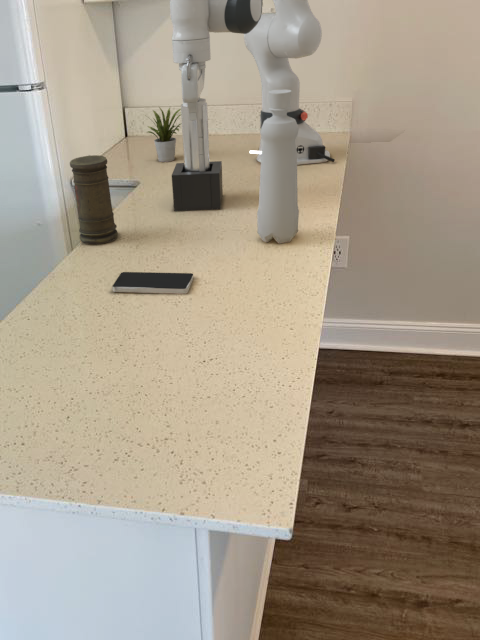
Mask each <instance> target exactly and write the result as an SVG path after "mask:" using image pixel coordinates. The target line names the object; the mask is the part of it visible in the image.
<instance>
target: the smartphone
mask: <svg viewBox="0 0 480 640" xmlns="http://www.w3.org/2000/svg"><path fill="white" fill-rule="evenodd" d="M193 281H194V273H191V272H151V271H150V272H149V271H148V272H143V271H135V272H134V271H123V272H120V274H119V275H118V277H117V278H116V279H115V282H114V283H113V284H112V286H111V287H112V291H113V292H114V293H139V294H140V293H142V294H143V293H144V294H145V293H146V294H178V295H179V294H180V295H181V294H183V295H185V294H188V292H189V290H190V287H191V285H192V284H193Z"/></svg>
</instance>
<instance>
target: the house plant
mask: <svg viewBox="0 0 480 640" xmlns="http://www.w3.org/2000/svg"><path fill="white" fill-rule="evenodd" d="M158 108H159V110H160V112H161V116H160V115H159V114H158V113H157V111H155V110H153V109H152V112H153V115H154V117H155V118H154V117H152V118H153V120H151V118H150V117H149V116H147V115H146V114H144V116H145V117H147V118H148V119H149V120H151V122H153V124H154V125H155V127H156V128H157V129H156V128H154V127H152V126H149V125H147V128H149V129H150V131H147V134H148V133H149V134H152V135H154V136H155V137H156V138H155V139H154V140H153V142H154V146H155V150H156V154H157V160H158V162H160V163H167V162H168V163H169V162H173V161H175V157H176V156H175V155H176V145H177V138H176V137H173V135H174V134H175V135H178V134H177V132H178V133H179V131H180V129H182V127H181V125H182V122H180V123H179V124H177V125H175V123H176V122H177V121H178V119H179V118H180V116H181V113H180V112H181V108H179V109H177V110H176V111H175V112H174V113H173V114H172V116H171V108H170V107H168V108H167V111H166V115H165V113H164V111H163V109H162V108H161V107H160V106H158ZM176 115H177V116H176ZM161 118H162V119H161ZM172 123H173V124H172ZM176 131H177V132H176Z"/></svg>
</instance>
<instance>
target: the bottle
mask: <svg viewBox="0 0 480 640" xmlns="http://www.w3.org/2000/svg"><path fill="white" fill-rule="evenodd" d="M291 92H292V91H291V90H273V91H269V103H270V108H269V110H271V112H272V114H273V116H272V117H270V118H268V119H266V120H265V121H264V123H263V125H262V127H261V129H259V133H260V139H261V138H262V140H263V142H264V143H263V148H262V153H261V162H260V170H259V171H260V172H259V192H258V193H259V194H258V197H259V198H258V207H257V208H258V209H257V211H256V219H257V220H256V221H257V223H256V225H257V226H256V227H257V228H256V229H257V231H256V232H257V233H256V234H257V235H258V236H259V238H260V239H261V241H262V242H264V243H269V242H272V240H273V239H274V240H275V241H276V242H277V243H278V244H286V243H290V242H291V241H292V239H294V238H295V236H296V234H297V233H298V231H299V215H300V209H299V204H298V201H299V200H298V165H297V150H296V144H295V139H296V137H297V135H298V131H299V127H298V125H297V122H296V120H295V119H294V118H291V117H289V116H287V112H288V110H289V109H291V107H290V100H291Z"/></svg>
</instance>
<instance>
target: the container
mask: <svg viewBox="0 0 480 640" xmlns="http://www.w3.org/2000/svg"><path fill="white" fill-rule="evenodd" d="M107 164H108V158H107V157H106V156H105V155H98V154H97V155H95V154H93V155H85V156H83V155H82V156H79V157H75V158H73V159H71V160H70V161H69V166H70V168H71V172H72V177H73V184H74V191H75V192H74V193H75V199H76V205H77V212H78V221H79V229H78V232H79V233H80V234H79V240H80V242H81V243H82V244H85V245H93V246H94V245H103V244H108V243H111V242H113V241H114V240H116V239H117V238H118V235H119V232H118V230H117V228H118V227H117V224H116V222H115V218H114V217H115V216H114V215H115V214H114V211H113V206H112V199H111V198H112V197H111V190H110V183H109V181H110V180H109V175H108V170H107V169H108V166H107Z"/></svg>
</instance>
